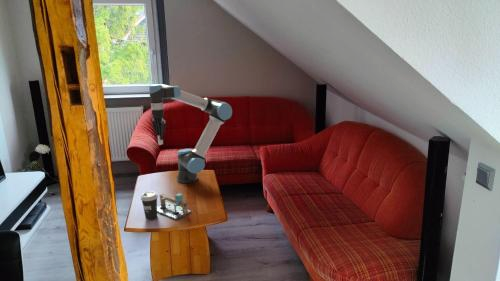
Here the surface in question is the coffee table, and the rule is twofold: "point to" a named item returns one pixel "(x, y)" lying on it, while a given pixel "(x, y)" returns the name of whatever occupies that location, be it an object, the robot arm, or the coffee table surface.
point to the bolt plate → (171, 211)
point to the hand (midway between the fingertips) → (160, 144)
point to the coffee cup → (150, 205)
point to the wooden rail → (165, 197)
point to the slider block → (178, 200)
